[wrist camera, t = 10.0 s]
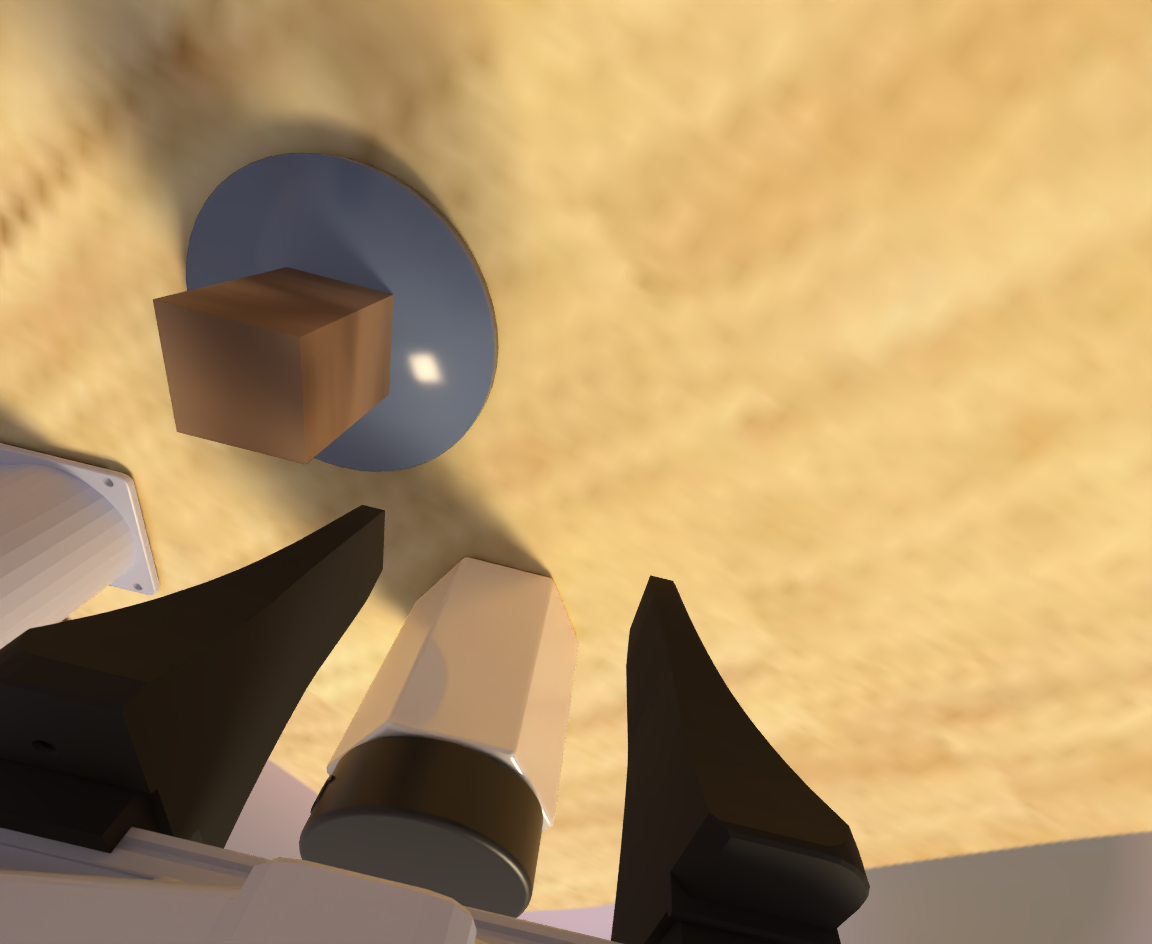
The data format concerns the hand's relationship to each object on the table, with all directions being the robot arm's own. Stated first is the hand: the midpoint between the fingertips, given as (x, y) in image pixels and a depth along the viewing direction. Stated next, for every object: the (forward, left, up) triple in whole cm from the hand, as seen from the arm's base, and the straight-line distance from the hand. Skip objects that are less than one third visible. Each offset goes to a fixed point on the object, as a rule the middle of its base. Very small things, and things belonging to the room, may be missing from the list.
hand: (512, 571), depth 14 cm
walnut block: (-9, +2, -8) cm, 12 cm away
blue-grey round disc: (-9, +2, -9) cm, 13 cm away
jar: (-1, -12, -10) cm, 15 cm away
